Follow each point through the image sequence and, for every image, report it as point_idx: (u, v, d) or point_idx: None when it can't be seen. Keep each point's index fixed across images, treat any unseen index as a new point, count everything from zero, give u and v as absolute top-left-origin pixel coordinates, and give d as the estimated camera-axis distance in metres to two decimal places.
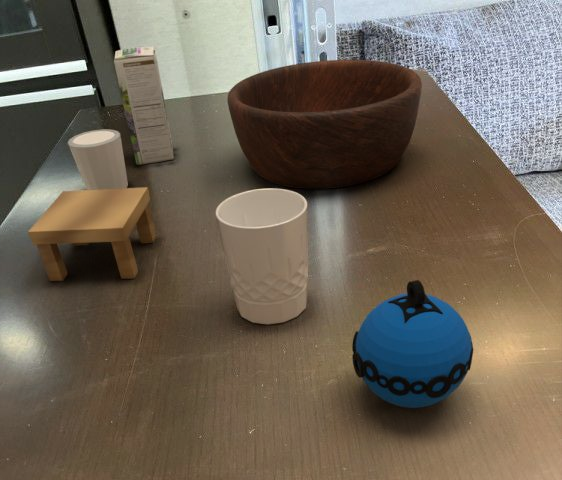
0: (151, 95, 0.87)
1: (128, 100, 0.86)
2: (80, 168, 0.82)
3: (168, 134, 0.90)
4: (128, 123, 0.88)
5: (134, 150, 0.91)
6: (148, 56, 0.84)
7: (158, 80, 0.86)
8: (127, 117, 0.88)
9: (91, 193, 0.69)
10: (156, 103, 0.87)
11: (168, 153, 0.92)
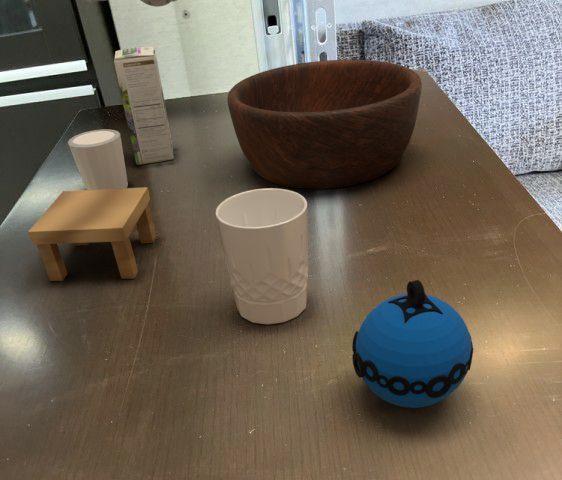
0: (151, 95, 0.87)
1: (128, 100, 0.86)
2: (80, 168, 0.82)
3: (168, 134, 0.90)
4: (128, 123, 0.88)
5: (134, 150, 0.91)
6: (148, 56, 0.84)
7: (158, 80, 0.86)
8: (127, 117, 0.88)
9: (91, 193, 0.69)
10: (156, 103, 0.87)
11: (168, 153, 0.92)
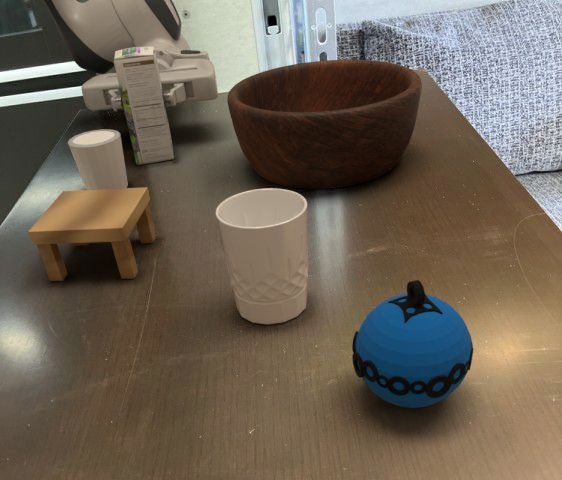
0: (151, 95, 0.87)
1: (127, 100, 0.86)
2: (80, 168, 0.82)
3: (168, 134, 0.90)
4: (128, 123, 0.88)
5: (134, 150, 0.91)
6: (148, 56, 0.84)
7: (158, 80, 0.86)
8: (127, 117, 0.88)
9: (91, 193, 0.69)
10: (156, 103, 0.87)
11: (168, 153, 0.92)
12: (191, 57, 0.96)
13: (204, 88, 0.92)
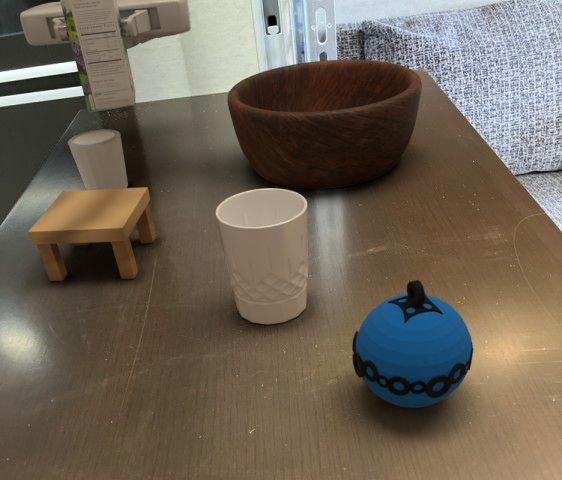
0: (104, 19, 0.68)
1: (73, 25, 0.68)
2: (80, 168, 0.82)
3: (127, 72, 0.72)
4: (75, 56, 0.70)
5: (84, 92, 0.72)
6: None
7: None
8: (74, 48, 0.69)
9: (91, 193, 0.69)
10: (110, 30, 0.69)
11: (128, 98, 0.74)
12: None
13: (172, 16, 0.74)
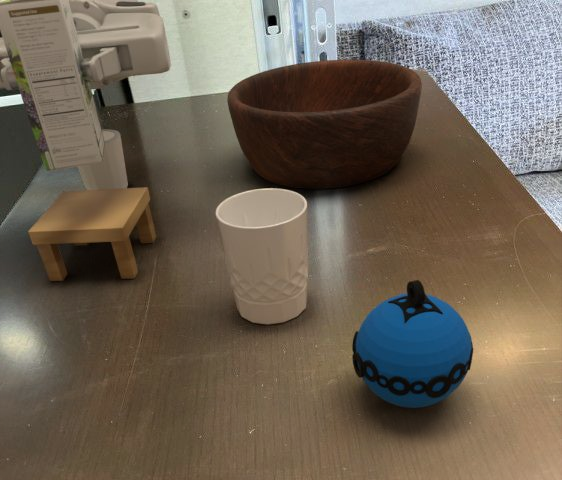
0: (59, 63, 0.55)
1: (22, 71, 0.55)
2: (80, 168, 0.82)
3: (91, 124, 0.59)
4: (26, 108, 0.57)
5: (40, 149, 0.60)
6: None
7: (68, 39, 0.54)
8: (24, 98, 0.57)
9: (91, 193, 0.69)
10: (68, 76, 0.56)
11: (93, 154, 0.61)
12: (131, 11, 0.65)
13: (147, 55, 0.61)
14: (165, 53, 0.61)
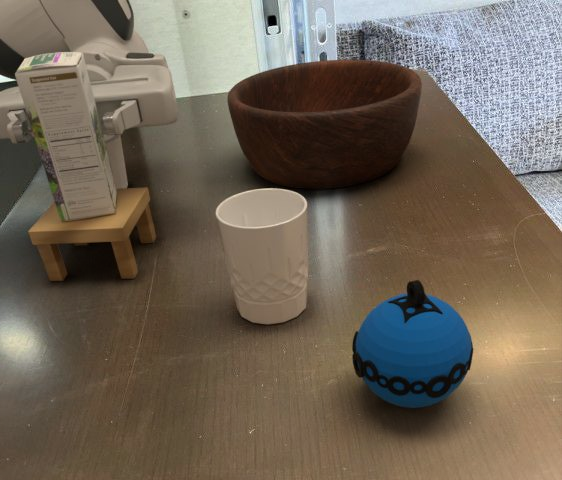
0: (76, 124, 0.58)
1: (41, 131, 0.58)
2: None
3: (105, 179, 0.62)
4: (44, 164, 0.60)
5: (56, 202, 0.62)
6: (67, 67, 0.55)
7: (85, 102, 0.57)
8: (42, 156, 0.60)
9: None
10: (84, 135, 0.59)
11: (106, 206, 0.64)
12: (141, 63, 0.67)
13: (156, 108, 0.63)
14: (173, 106, 0.64)
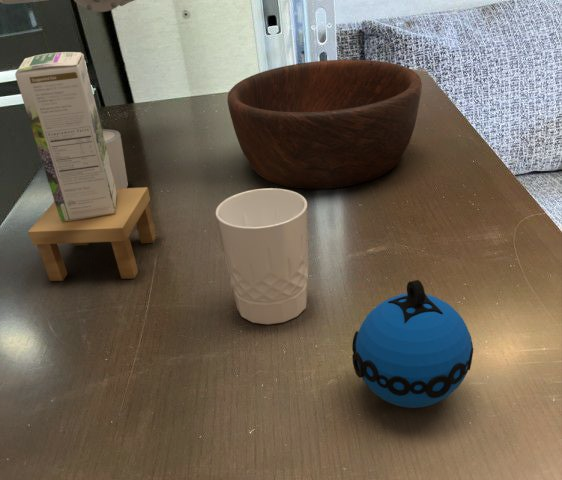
0: (76, 124, 0.58)
1: (41, 131, 0.58)
2: None
3: (105, 179, 0.62)
4: (44, 164, 0.60)
5: (56, 202, 0.62)
6: (67, 67, 0.55)
7: (85, 102, 0.57)
8: (42, 156, 0.60)
9: None
10: (84, 135, 0.59)
11: (106, 206, 0.64)
12: None
13: None
14: None
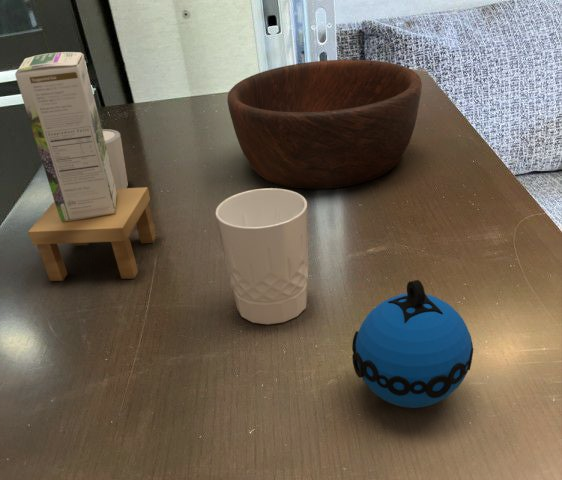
0: (76, 124, 0.58)
1: (41, 131, 0.58)
2: None
3: (105, 179, 0.62)
4: (44, 164, 0.60)
5: (56, 202, 0.62)
6: (68, 67, 0.55)
7: (85, 102, 0.57)
8: (42, 156, 0.60)
9: None
10: (84, 135, 0.59)
11: (106, 206, 0.64)
12: None
13: None
14: None
